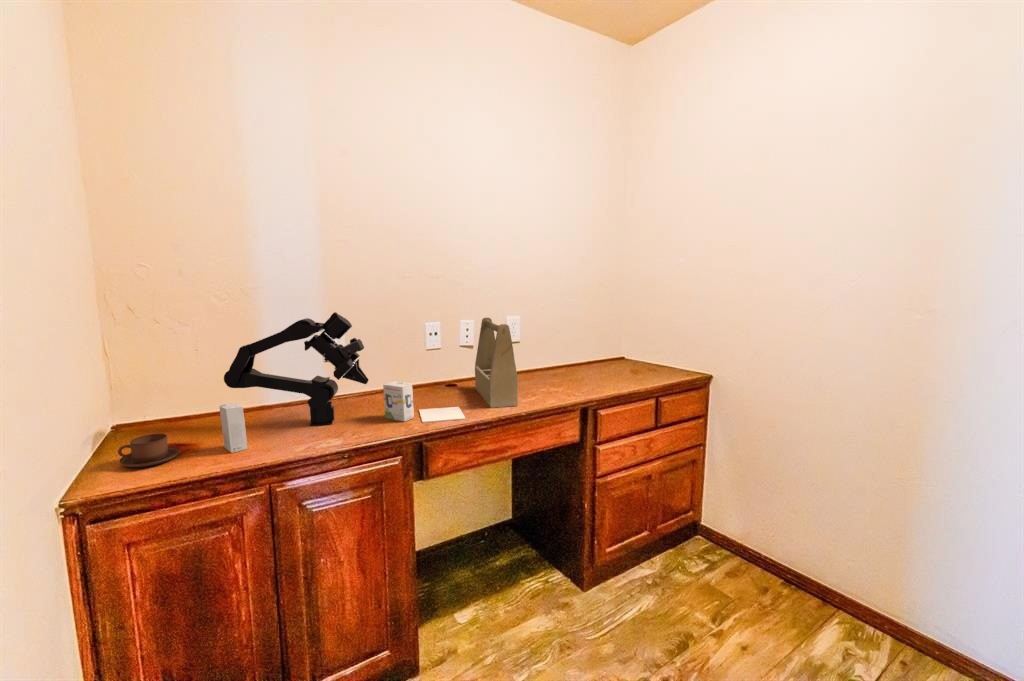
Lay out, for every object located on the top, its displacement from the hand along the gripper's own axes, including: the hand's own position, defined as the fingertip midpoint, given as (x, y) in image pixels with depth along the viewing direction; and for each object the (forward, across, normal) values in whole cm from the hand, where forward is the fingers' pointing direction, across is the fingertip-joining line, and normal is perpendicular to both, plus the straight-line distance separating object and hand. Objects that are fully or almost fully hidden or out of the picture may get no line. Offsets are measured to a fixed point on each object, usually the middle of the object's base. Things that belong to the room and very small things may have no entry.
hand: (367, 382), depth 150 cm
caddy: (+41, +20, -23) cm, 51 cm away
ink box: (+16, 0, +2) cm, 16 cm away
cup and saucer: (-27, -24, +45) cm, 58 cm away
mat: (+26, +1, -8) cm, 27 cm away
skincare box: (-14, -19, +32) cm, 40 cm away
